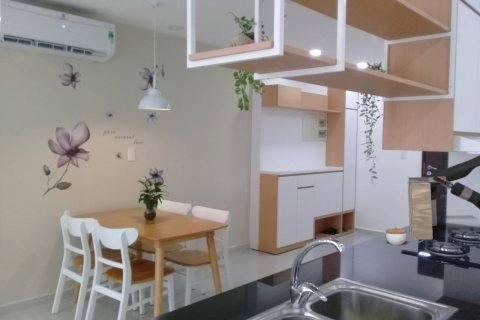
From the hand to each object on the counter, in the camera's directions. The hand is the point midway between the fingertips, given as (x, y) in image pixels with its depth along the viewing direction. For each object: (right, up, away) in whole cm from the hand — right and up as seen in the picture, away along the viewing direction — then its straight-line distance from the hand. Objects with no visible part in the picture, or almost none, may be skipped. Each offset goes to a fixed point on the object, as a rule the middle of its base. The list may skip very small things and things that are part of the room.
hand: (433, 177), depth 248 cm
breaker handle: (-3, -3, +1) cm, 4 cm away
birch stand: (-6, -35, +2) cm, 36 cm away
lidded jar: (-26, -37, -13) cm, 47 cm away
